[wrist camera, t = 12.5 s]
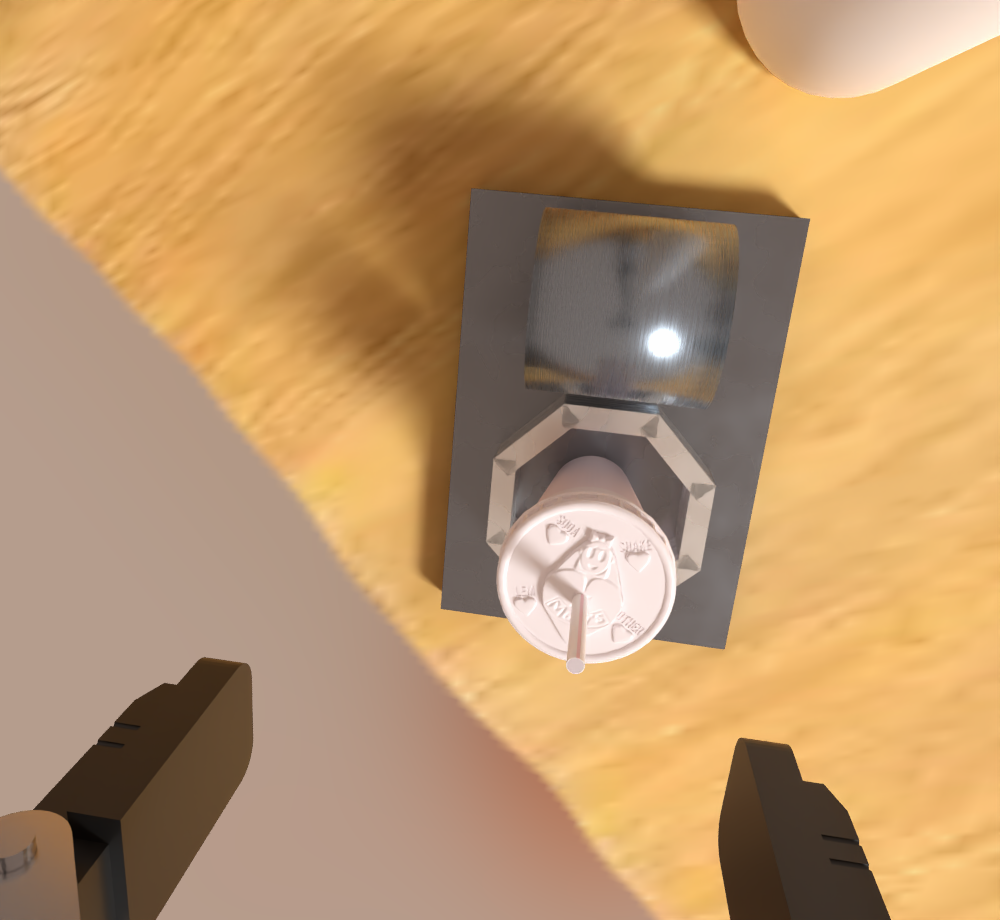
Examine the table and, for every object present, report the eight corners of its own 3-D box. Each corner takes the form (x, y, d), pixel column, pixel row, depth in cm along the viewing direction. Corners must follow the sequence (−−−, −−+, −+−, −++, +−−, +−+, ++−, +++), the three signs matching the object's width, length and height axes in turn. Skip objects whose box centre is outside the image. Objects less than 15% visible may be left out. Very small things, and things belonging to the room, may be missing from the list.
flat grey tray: (476, 189, 35) (437, 180, 27) (801, 218, 33) (862, 218, 25) (446, 595, 41) (407, 687, 33) (720, 633, 40) (749, 740, 31)
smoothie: (507, 534, 38) (452, 705, 25) (543, 409, 36) (505, 523, 23) (635, 573, 38) (650, 767, 24) (680, 449, 36) (722, 588, 22)
